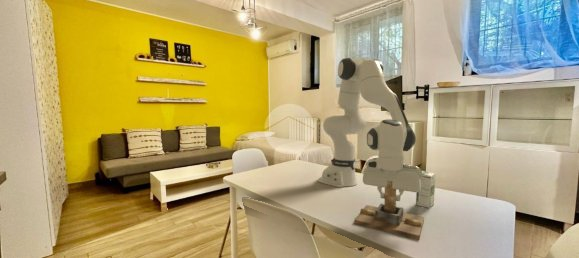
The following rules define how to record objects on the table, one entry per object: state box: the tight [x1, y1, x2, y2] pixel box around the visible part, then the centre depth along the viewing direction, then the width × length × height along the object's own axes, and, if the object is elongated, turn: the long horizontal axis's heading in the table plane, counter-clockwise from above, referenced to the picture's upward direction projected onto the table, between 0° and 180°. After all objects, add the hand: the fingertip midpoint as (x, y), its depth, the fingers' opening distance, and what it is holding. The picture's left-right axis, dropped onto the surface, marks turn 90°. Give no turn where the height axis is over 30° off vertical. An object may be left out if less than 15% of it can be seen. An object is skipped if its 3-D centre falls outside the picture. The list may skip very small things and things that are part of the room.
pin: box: [383, 181, 397, 213], centre depth 93 cm, size 4×4×12 cm
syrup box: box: [415, 170, 436, 209], centre depth 108 cm, size 6×6×14 cm
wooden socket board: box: [353, 203, 425, 241], centre depth 94 cm, size 22×16×5 cm
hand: (390, 199), depth 93 cm, fingers closed on pin, 4 cm apart
